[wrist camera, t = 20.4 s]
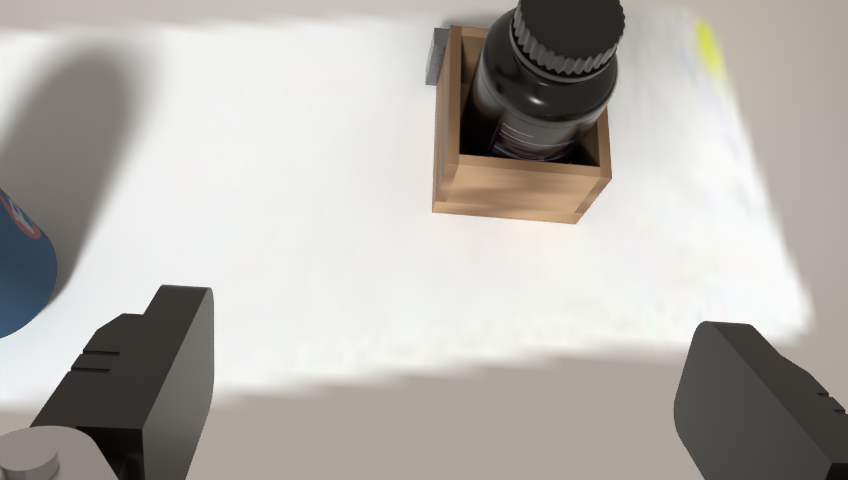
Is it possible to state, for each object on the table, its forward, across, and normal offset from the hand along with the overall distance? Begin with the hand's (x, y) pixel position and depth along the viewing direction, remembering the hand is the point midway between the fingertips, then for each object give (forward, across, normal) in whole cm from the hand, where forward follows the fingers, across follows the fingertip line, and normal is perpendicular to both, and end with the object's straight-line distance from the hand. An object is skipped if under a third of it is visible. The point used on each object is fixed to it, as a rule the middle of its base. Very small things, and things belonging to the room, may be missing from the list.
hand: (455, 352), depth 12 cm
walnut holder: (+32, -7, +5) cm, 33 cm away
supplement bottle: (+31, -7, +5) cm, 32 cm away
